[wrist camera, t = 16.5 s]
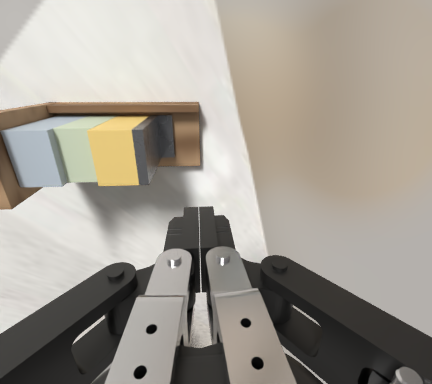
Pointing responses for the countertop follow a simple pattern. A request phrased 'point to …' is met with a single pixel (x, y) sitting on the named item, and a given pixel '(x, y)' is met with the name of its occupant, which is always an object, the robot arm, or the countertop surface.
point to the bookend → (152, 145)
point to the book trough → (181, 113)
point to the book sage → (78, 148)
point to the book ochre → (115, 150)
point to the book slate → (37, 152)
